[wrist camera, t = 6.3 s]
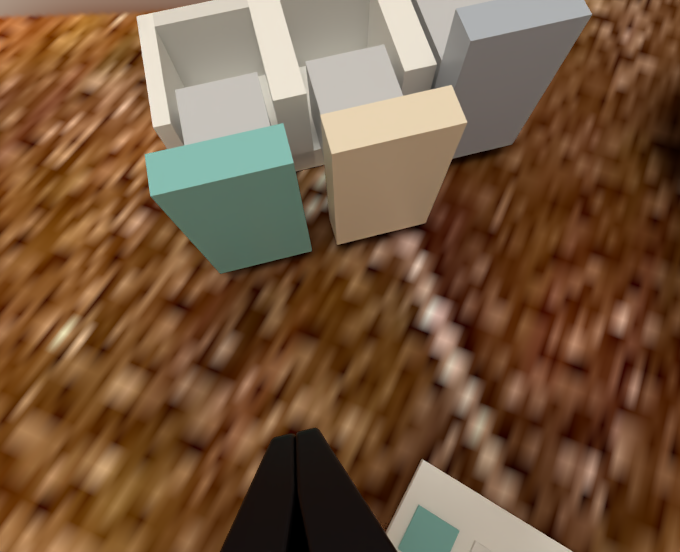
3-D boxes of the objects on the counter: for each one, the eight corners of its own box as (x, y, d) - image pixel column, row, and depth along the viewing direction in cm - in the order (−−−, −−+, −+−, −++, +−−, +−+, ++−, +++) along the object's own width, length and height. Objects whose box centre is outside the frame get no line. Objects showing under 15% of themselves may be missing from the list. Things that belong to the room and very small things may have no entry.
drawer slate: (511, 144, 22) (591, 14, 15) (429, 164, 22) (470, 40, 14) (466, 43, 24) (517, -115, 17) (390, 59, 24) (410, -94, 17)
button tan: (425, 223, 21) (467, 122, 14) (336, 245, 20) (331, 154, 13) (385, 109, 23) (403, -31, 16) (304, 127, 22) (284, -7, 15)
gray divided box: (502, 123, 23) (547, 39, 18) (198, 194, 22) (153, 127, 17) (465, 39, 25) (496, -58, 20) (181, 102, 24) (136, 16, 19)
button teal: (312, 251, 20) (293, 162, 13) (220, 273, 20) (150, 196, 13) (281, 132, 22) (251, 0, 15) (198, 151, 22) (127, 26, 15)
